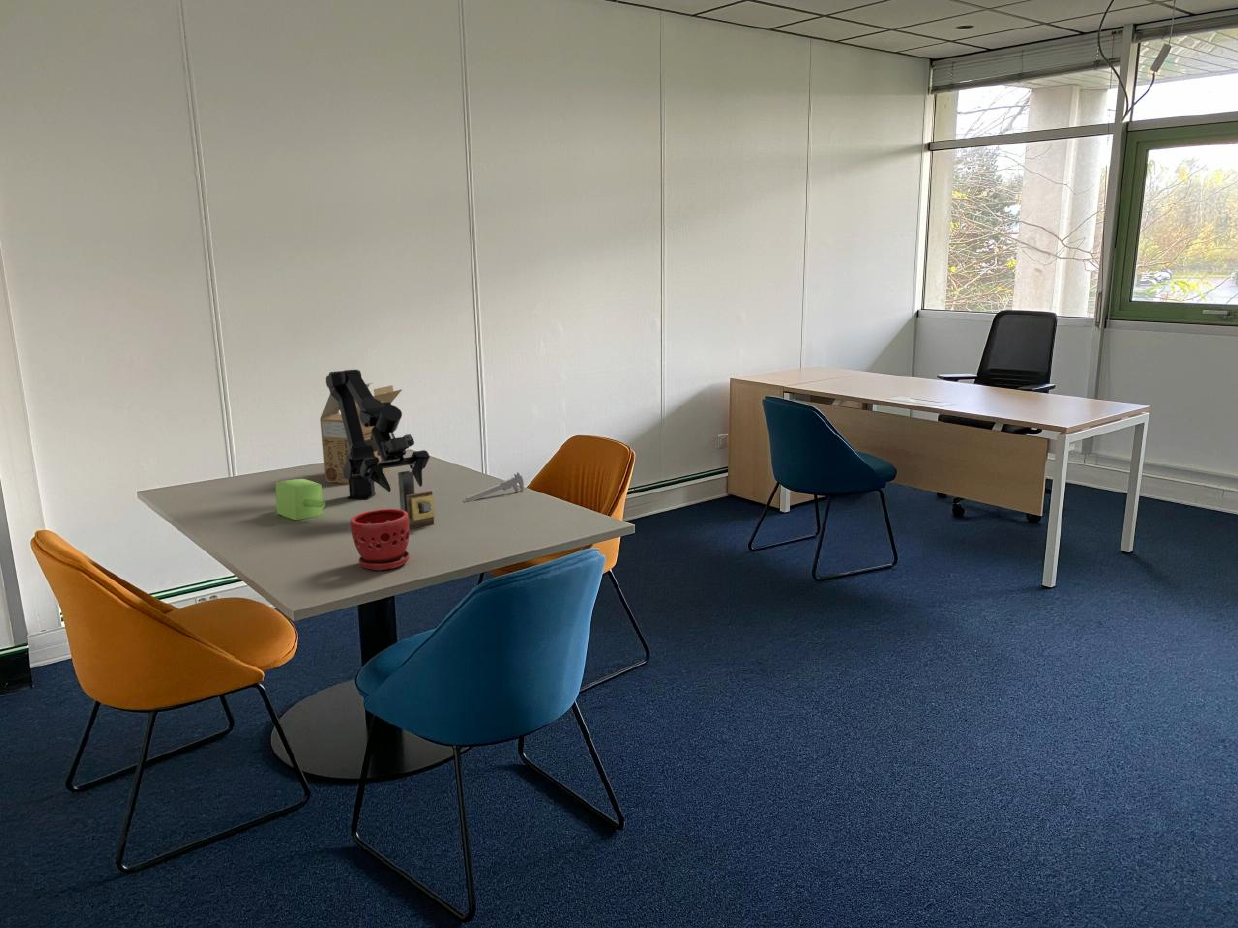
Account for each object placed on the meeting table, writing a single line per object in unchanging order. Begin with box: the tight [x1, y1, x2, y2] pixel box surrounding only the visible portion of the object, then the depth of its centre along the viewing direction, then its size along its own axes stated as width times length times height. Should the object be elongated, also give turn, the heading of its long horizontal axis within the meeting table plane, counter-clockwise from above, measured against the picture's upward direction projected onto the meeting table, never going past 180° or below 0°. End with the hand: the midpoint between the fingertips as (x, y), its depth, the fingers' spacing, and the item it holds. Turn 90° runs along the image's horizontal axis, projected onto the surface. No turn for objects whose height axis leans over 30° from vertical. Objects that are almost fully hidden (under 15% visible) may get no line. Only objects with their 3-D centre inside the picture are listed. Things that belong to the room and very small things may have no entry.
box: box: [319, 382, 403, 485], centre depth 304 cm, size 21×20×30 cm
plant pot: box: [350, 508, 411, 571], centre depth 217 cm, size 13×13×12 cm
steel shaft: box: [397, 470, 431, 512], centre depth 250 cm, size 14×3×13 cm, turn 37°
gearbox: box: [275, 478, 326, 521], centre depth 261 cm, size 18×10×10 cm, turn 48°
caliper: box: [462, 472, 525, 503], centre depth 279 cm, size 20×1×6 cm, turn 127°
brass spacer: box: [411, 493, 436, 521], centre depth 247 cm, size 1×6×6 cm, turn 127°
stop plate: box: [406, 490, 435, 530], centre depth 249 cm, size 4×7×9 cm, turn 127°
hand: (405, 488), depth 254 cm, fingers open, 9 cm apart
